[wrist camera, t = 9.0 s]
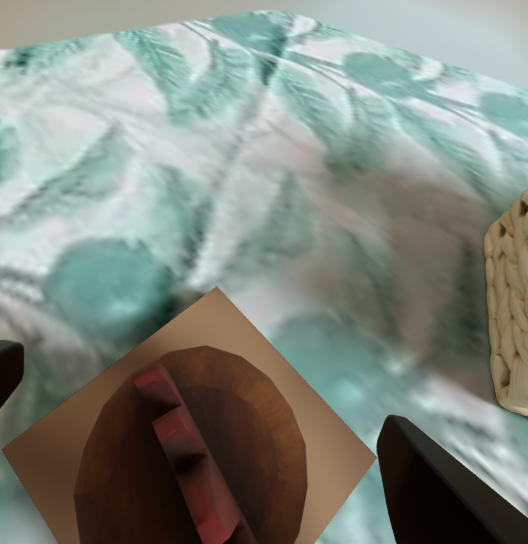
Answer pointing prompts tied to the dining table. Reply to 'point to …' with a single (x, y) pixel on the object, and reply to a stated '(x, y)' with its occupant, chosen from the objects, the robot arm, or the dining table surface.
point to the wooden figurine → (193, 457)
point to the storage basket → (509, 305)
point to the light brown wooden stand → (173, 336)
